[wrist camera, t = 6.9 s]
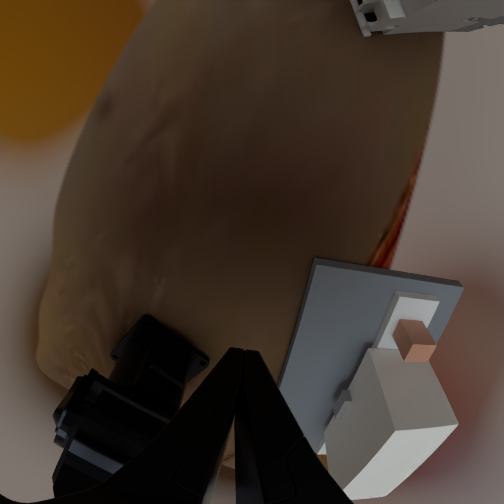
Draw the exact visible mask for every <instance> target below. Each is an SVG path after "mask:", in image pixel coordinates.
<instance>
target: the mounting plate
mask: <svg viewBox="0 0 504 504" xmlns="http://www.w3.org/2000/svg"><path fill="white" fill-rule="evenodd" d="M463 289H464V287H463V286H462V285H461V283H460V282H459V281H455V280H449V279H443V278H436V277H431V276H425V275H419V274H413V273H406V272H400V271H394V270H388V269H382V268H376V267H370V266H364V265H358V264H351V263H345V262H339V261H333V260H327V259H320V258H314V261H313V265H312V268H311V272H310V276H309V280H308V283H307V287H306V291H305V294H304V298H303V302H302V305H301V309H300V312H299V316H298V319H297V323H296V326H295V330H294V333H293V337H292V340H291V343H290V347H289V350H288V353H287V356H286V360H285V363H284V366H283V369H282V373H281V376H280V379H279V382H278V385H277V386H278V388H279V390H280V391H281V393H282V395H283V397H284V399H285V401H286V402H287V404H288V406H289V408H290V410H291V412H292V413H293V415H294V417H295V419H296V421H297V422H298V424H299V426H300V428H301V429H302V431H303V433H304V437H306V438H307V440H308V442H309V443H310V445H311V447H312V449H313V450H314V452H315V453H317V454H326V446H325V437H324V431H325V430H326V428H327V426H328V425H329V423H330V421H331V419H332V418H333V416H334V411H333V407H334V405H335V403H336V401H337V400H338V398H339V396H340V394H341V392H342V390H348V388H349V386H350V384H351V382H352V380H353V378H354V376H355V374H356V372H357V370H358V368H359V366H360V364H361V362H362V360H363V358H364V356H365V354H366V352H367V350H368V348H375V349H390V350H399V352H400V354H401V356H402V359H403V361H405V362H428V360H429V358H430V356H431V355H432V353H433V351H434V349H435V348H436V346H437V345H436V343H437V342H438V339H439V338H440V336H441V334H442V332H443V330H444V328H445V326H446V325H447V323H448V321H449V319H450V317H451V314H452V313H453V310H454V308H455V306H456V304H457V302H458V300H459V298H460V296H461V293H462V291H463Z"/></svg>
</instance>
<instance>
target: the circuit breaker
mask: <svg viewBox="0 0 504 504" xmlns="http://www.w3.org/2000/svg"><path fill="white" fill-rule="evenodd" d="M362 1H363V3H362V4H360V6H359V4H358V1H357V0H350V3H351V5H352V8H353V10H354V13H355V15H356V18H357V21H358V23H359V26H360V29H361V32H362V35H363V37H369V36H371V32H373V31H382V33H383V35H387V34H399V33H413V32H443V31H457V32H458V31H461V32H463V31H464V32H469V31H473V30H476V29H480V28H483V25H487V26H492V25H496V24H504V0H362ZM372 12H375V15H376V17H377V21H375V22H366V19H365V16H364V14H365V13H372ZM370 30H371V32H370Z"/></svg>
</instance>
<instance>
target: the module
mask: <svg viewBox="0 0 504 504" xmlns="http://www.w3.org/2000/svg"><path fill="white" fill-rule="evenodd" d="M333 411H334V416H333V418H332V419H331V421H330V423H329V425H328V426H327V428H326V430H325V431H324V437H325V446H326V454H327V463H328V471H329V473H330V475H331V476H332V477H333V479H334V480H335V481H336V482H337V484H338V485H339V486H340V487H341V489H342V490H343V491H344V492H345V493H346V495H347V496H348V497H349V498H350V500H356V499H365V498H375V497H383V496H386V495H387V494H388V493H390V492H391V491H392V490H393V489H395V488H396V487H397V486H398V485H399V484H400V483H401V482H403V481H404V480H405V479H406V478H407V477H408V476H409V475H410V474H411V473H412V472H414V470H416V469H417V467H419V466H420V465H421V464H422V463H423V462H424V461H425V460H426V459H427V458H428V457H429V456H430V455H431V454H432V453H433V452H434V451H435V450H436V449H437V448H438V447H439V445H440V444H441V443H442V442H443V441H444V440H445V439H446V438H447V437H448V436H449V435H450V434H451V432H452V431H453V430H454V429H455V428H456V426H458V422H457V419H456V417H455V415H454V412H453V410H452V408H451V406H450V404H449V402H448V400H447V398H446V395H445V393H444V391H443V389H442V387H441V385H440V383H439V381H438V379H437V377H436V375H435V373H434V371H433V369H432V367H431V365H430V363H429V361H428V362H405V361H403V359H402V356H401V354H400V352H399V350H390V349H375V348H368V350H367V352H366V354H365V356H364V358H363V360H362V362H361V364H360V366H359V368H358V370H357V372H356V374H355V376H354V378H353V380H352V382H351V384H350V386H349V388H348V390H342V392H341V394H340V396H339V398H338V400H337V401H336V403H335V405H334V407H333Z"/></svg>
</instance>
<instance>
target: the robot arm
mask: <svg viewBox="0 0 504 504" xmlns="http://www.w3.org/2000/svg"><path fill="white" fill-rule="evenodd" d="M145 321H148V322H149V323H147V322H145ZM110 357H111V358H112V359H113V360H114V361H116V362H117V363H116V364H115V366H114V368H113V370H112V372H111V374H110V376H109V378H108V379H107V378H105V377H103V376H102V375H100V374H98V373H99V372H98V371H96V370H94V369H93V368H92V369H91V371H90V372H89V374H88V376H87V375H84V377H83V376H78V377H77V378H76V380H75V382H74V383H73V385H72V387H71V389H70V390H69V392H68V393H67V395H66V396H65V397H64V399H63V400H62V401H61V403H60V404H59V405H58V407H57V408H56V410H55V412H54V414H53V418H54V421H55V424H56V429H55V432H56V433H57V434H56V436H55V439H54V443H55V444H56V445H58V446H60V447H62V448H64V450H63V452H62V454H61V457H60V459H59V461H58V463H57V466H56V468H55V471H54V473H53V476H52V480H53V492H54V497H55V498H52V499H48V500H44V501H39V502H33V503H20V502H16V501H12V500H10V499H8V498H6V497H4V496H3V495H1V494H0V504H210V501H211V498H212V494H213V491H214V487H215V484H216V480H217V477H218V474H219V470H220V467H221V463H222V460H223V456H224V453H225V449H226V446H227V442H228V439H229V435H230V432H231V428H232V424H233V420H234V415H235V420H234V432H235V479H236V480H235V481H236V504H354V503H353V502H352V501H351V500H350V498H349V497H348V496H347V495H346V493H345V492H344V491H343V490H342V489H341V487H340V486H339V485H338V484H337V482H336V481H335V480H334V479H333V477H332V476H331V475H330V473H329V472H328V471H327V469H326V468H325V467H324V465H323V464H322V463H321V461H320V460H319V458H318V457H317V455H316V453H315V452H314V450H313V449H312V447H311V445H310V443H309V442H308V440H307V438H306V437H304V433H303V431H302V429H301V428H300V426H299V424H298V422H297V421H296V419H295V417H294V415H293V413H292V412H291V410H290V408H289V406H288V404H287V402H286V401H285V399H284V397H283V395H282V393H281V391H280V390H279V388H278V386H277V384H276V382H275V380H274V379H273V377H272V375H271V373H270V371H269V369H268V367H267V365H266V364H265V362H264V360H263V358H262V356H261V354H260V352H258V351H255V350H248V349H246V350H245V351H244V350H243V349H241V348H234V347H231V348H229V349H228V351H227V352H226V353H225V354H224V356H223V357H222V358H221V359H220V361H219V362H218V363H217V364H216V366H215V367H214V368H213V369H212V371H211V372H210V373H209V374H208V376H207V377H206V378H205V379H204V380H203V382H202V383H201V384H200V385H199V387H198V388H197V389H196V390H195V392H194V393H193V394H192V395H191V396H190V398H189V399H188V400H187V401H186V402H185V404H184V405H183V406H182V407H181V409H180V406H181V402H182V399H183V395H184V391H185V387H186V383H187V382H188V381H190V380H191V379H192V378H193V377H195V376H196V375H197V374H199V373H200V372H201V371H203V370H204V369H205V368H206V367H208V366H209V361H210V360H209V358H208V357H207V356H205V355H204V354H202V353H201V352H199V351H198V350H196V349H195V348H194V347H192V346H191V345H189V344H188V343H186V342H185V341H184V340H182V339H181V338H179V337H178V336H177V335H175V334H174V333H172V332H171V331H170V330H168V329H167V328H165V327H164V326H163V325H161V324H160V323H159V322H157V321H156V320H155V319H153V318H152V317H151V316H149V315H143V316H142V317H141V318H140V319H139V320H138V322H137V323H136V324H135V325H134V326H133V327H132V328H131V330H130V331H129V332H128V333H127V334H126V335H125V336H124V338H123V339H122V340H121V341H120V342H119V343H118V345H117V346H116V347H115V348H114V349H113V350H112V352H111V354H110ZM202 361H204V362H202Z"/></svg>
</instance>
